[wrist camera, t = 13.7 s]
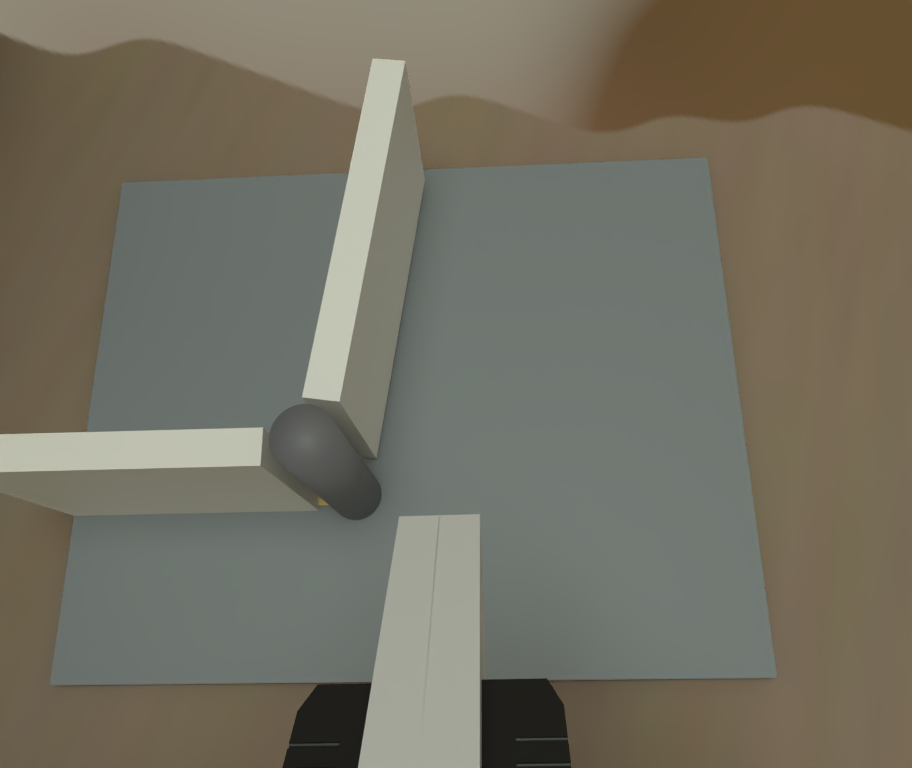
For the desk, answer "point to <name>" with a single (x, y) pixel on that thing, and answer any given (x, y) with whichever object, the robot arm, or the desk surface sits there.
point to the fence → (193, 469)
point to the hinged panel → (369, 263)
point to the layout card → (436, 431)
